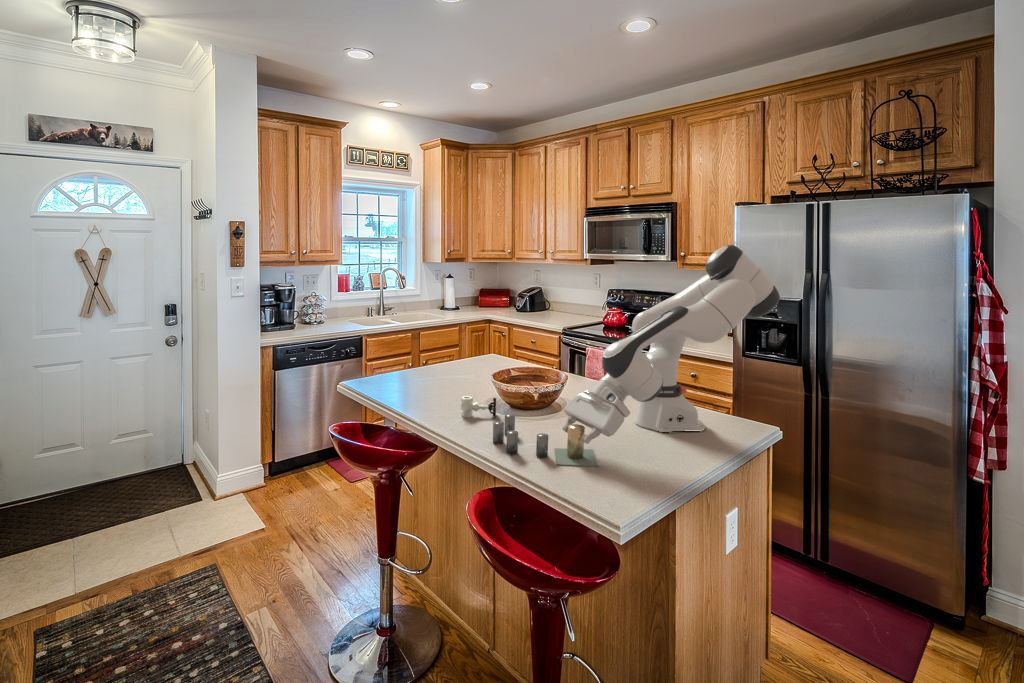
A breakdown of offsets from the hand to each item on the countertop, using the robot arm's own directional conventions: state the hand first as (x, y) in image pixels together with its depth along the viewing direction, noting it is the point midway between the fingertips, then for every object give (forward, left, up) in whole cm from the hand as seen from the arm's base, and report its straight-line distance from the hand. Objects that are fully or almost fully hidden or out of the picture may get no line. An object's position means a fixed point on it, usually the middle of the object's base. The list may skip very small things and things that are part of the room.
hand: (574, 436), depth 146 cm
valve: (+30, -36, -7) cm, 47 cm away
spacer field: (+16, -8, -6) cm, 19 cm away
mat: (-1, 0, -6) cm, 6 cm away
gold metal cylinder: (0, 0, -6) cm, 6 cm away
